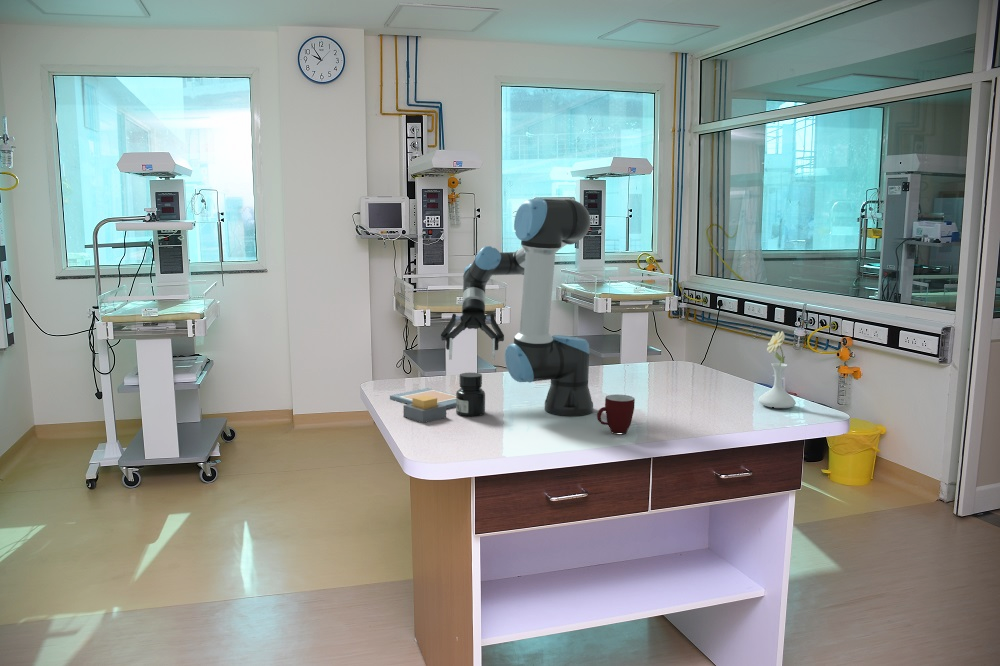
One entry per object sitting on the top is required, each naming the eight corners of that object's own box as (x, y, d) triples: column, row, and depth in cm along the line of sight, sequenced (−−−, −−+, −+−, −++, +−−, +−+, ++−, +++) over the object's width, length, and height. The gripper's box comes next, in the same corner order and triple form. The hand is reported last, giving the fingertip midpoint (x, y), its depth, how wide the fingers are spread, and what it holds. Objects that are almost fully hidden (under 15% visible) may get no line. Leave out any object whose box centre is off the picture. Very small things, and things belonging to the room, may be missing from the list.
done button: (437, 411, 228) (437, 398, 228) (423, 414, 225) (423, 401, 224) (426, 408, 232) (425, 395, 231) (412, 411, 228) (412, 397, 228)
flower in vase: (758, 401, 254) (763, 326, 250) (795, 404, 250) (800, 328, 246) (757, 410, 241) (762, 331, 238) (796, 413, 238) (801, 334, 234)
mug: (605, 438, 209) (606, 403, 207) (591, 431, 216) (592, 396, 215) (638, 435, 213) (640, 399, 211) (623, 427, 220) (624, 393, 219)
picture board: (471, 403, 246) (471, 399, 246) (433, 411, 235) (433, 407, 235) (427, 391, 262) (427, 387, 261) (389, 398, 250) (389, 395, 250)
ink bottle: (453, 410, 237) (453, 372, 236) (481, 408, 239) (481, 371, 238) (459, 418, 228) (459, 378, 226) (488, 416, 230) (488, 377, 228)
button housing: (446, 417, 229) (446, 405, 228) (422, 422, 222) (422, 411, 222) (426, 411, 235) (426, 400, 235) (403, 416, 229) (403, 405, 228)
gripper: (511, 311, 258) (511, 364, 245) (436, 311, 258) (433, 363, 245) (511, 297, 252) (511, 351, 239) (435, 297, 252) (431, 350, 239)
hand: (471, 357), depth 242 cm, fingers open, 13 cm apart
